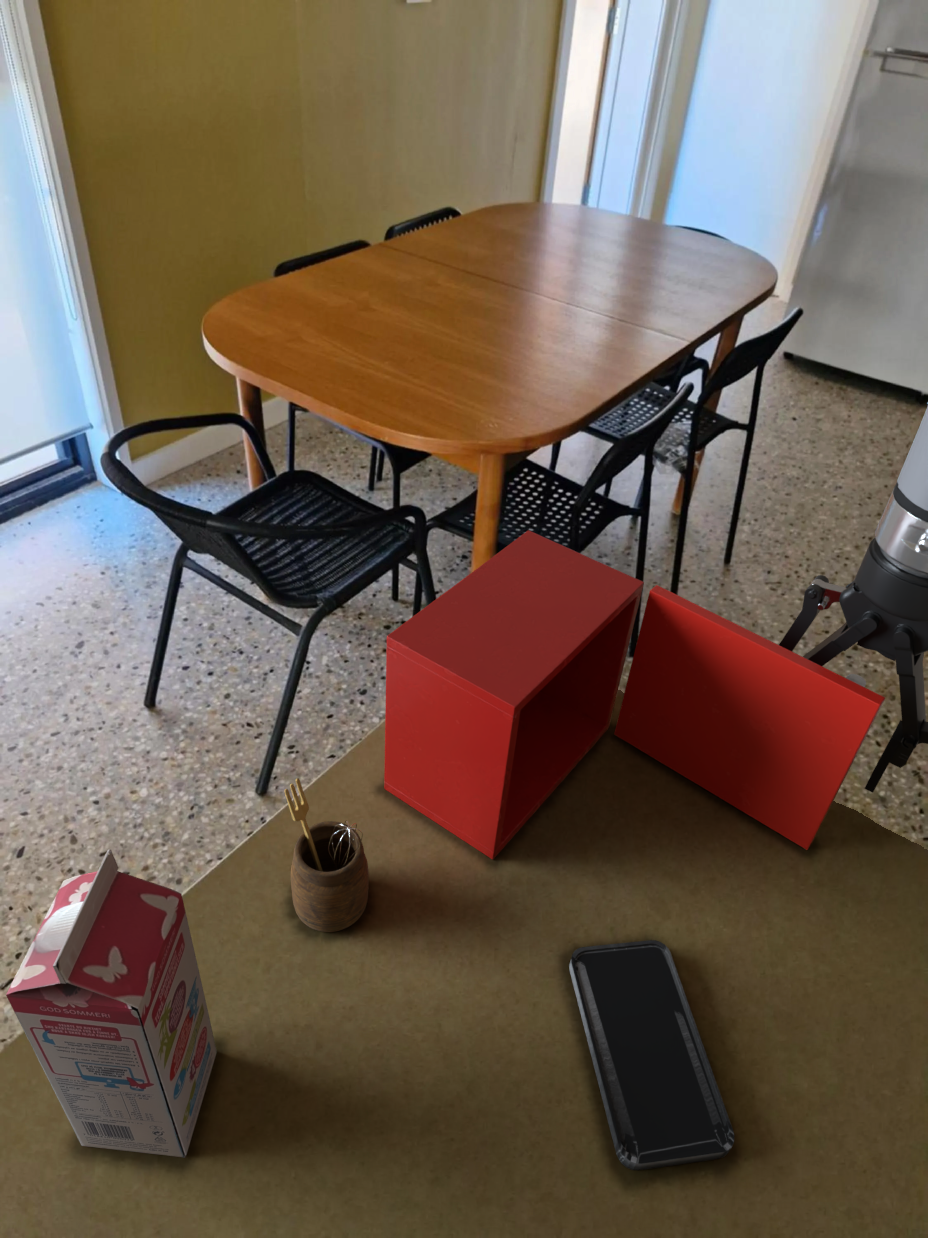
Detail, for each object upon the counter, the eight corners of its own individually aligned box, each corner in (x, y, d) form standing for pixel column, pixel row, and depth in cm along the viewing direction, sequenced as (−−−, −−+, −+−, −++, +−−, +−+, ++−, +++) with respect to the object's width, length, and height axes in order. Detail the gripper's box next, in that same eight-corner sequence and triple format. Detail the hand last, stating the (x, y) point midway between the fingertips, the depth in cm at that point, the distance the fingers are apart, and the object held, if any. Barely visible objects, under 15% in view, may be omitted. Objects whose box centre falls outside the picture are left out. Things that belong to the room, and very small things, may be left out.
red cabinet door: (652, 696, 91) (691, 554, 80) (839, 801, 82) (913, 657, 71) (613, 734, 87) (649, 590, 76) (806, 850, 77) (880, 705, 66)
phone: (624, 1166, 56) (568, 948, 67) (620, 1173, 57) (565, 956, 68) (741, 1149, 57) (667, 938, 68) (737, 1156, 58) (663, 946, 69)
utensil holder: (338, 949, 67) (334, 853, 60) (274, 908, 70) (262, 810, 62) (383, 893, 71) (385, 796, 64) (322, 856, 74) (316, 758, 66)
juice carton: (81, 1145, 56) (-13, 958, 42) (121, 1040, 61) (49, 843, 47) (185, 1157, 56) (125, 973, 42) (217, 1051, 61) (172, 856, 47)
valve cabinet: (609, 728, 87) (644, 581, 76) (492, 860, 74) (514, 707, 63) (508, 674, 93) (528, 529, 81) (383, 789, 80) (386, 636, 68)
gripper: (773, 522, 69) (704, 727, 83) (1066, 636, 60) (932, 844, 74) (807, 486, 74) (736, 685, 88) (1082, 586, 65) (953, 790, 79)
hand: (825, 758), depth 81 cm, fingers open, 8 cm apart
